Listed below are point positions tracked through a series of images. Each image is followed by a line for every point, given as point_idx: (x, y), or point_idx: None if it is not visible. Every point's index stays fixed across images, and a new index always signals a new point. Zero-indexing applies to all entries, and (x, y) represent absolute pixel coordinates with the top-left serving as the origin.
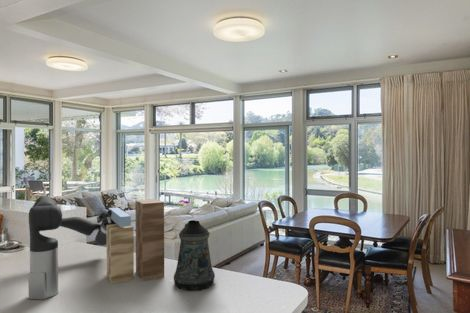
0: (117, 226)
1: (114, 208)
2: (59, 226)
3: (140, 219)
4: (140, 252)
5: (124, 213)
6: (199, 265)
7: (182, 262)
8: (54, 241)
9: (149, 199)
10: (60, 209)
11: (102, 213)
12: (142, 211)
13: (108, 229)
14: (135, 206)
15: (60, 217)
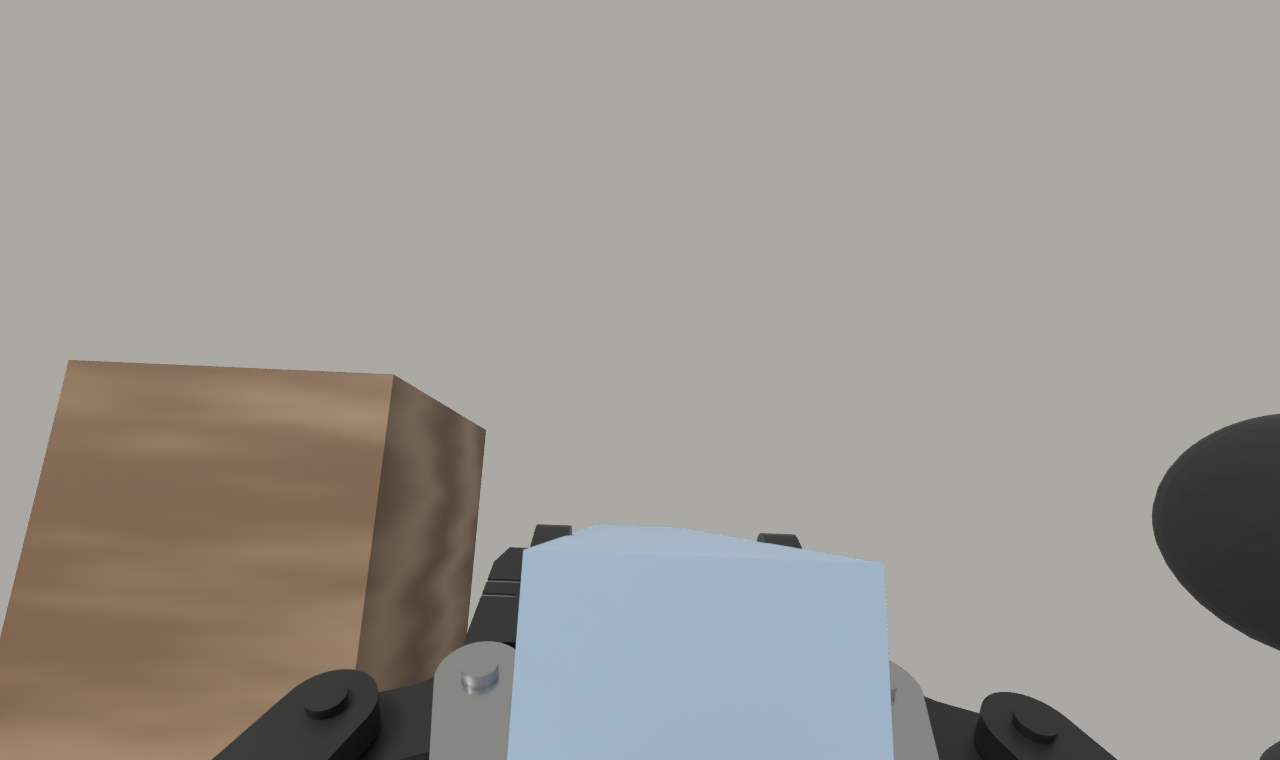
0: None
1: (678, 546)
2: (1225, 619)
3: (446, 601)
4: None
5: (616, 527)
6: None
7: None
8: (1267, 758)
9: (182, 368)
10: (1202, 455)
11: (1050, 708)
12: (474, 500)
13: None
14: (381, 471)
15: (1152, 518)
